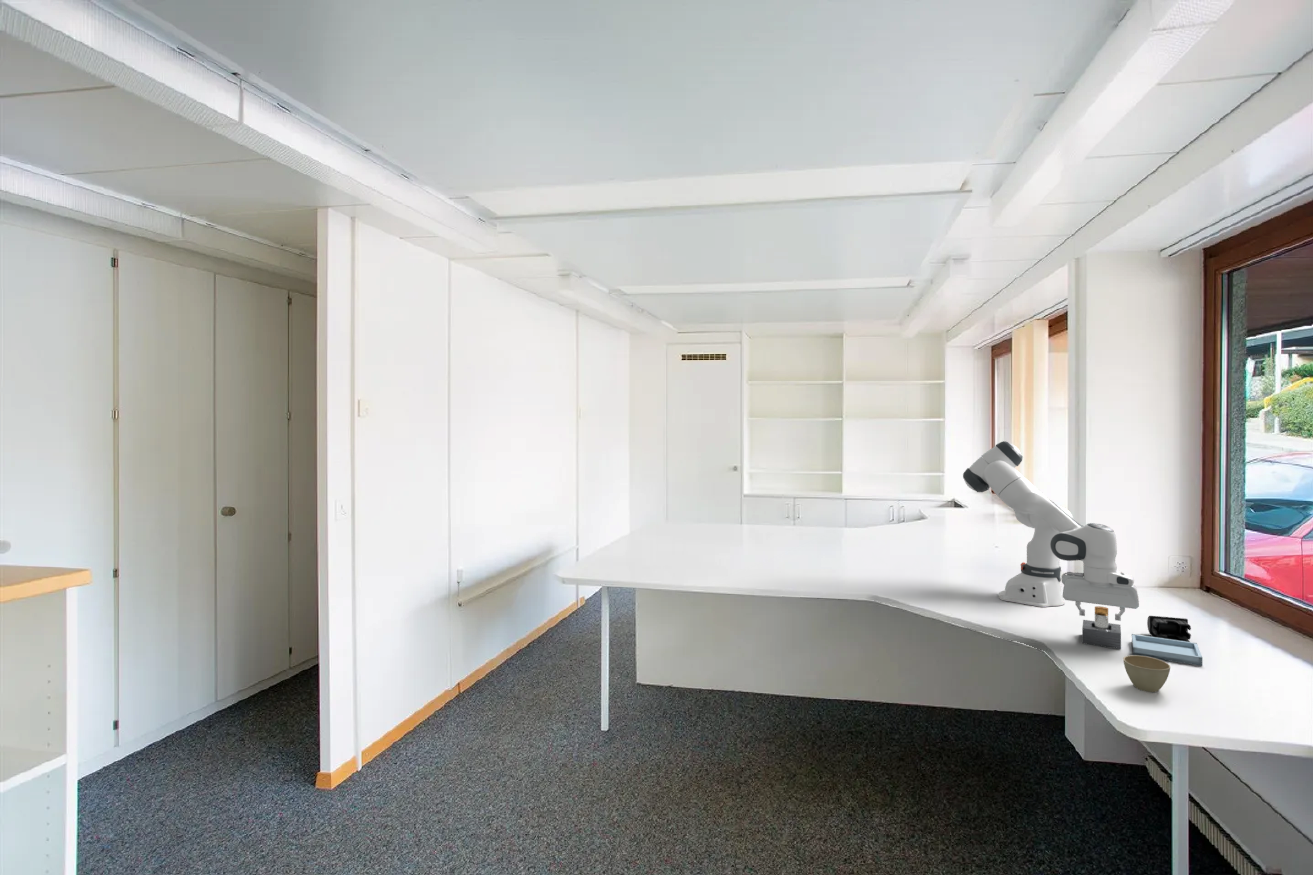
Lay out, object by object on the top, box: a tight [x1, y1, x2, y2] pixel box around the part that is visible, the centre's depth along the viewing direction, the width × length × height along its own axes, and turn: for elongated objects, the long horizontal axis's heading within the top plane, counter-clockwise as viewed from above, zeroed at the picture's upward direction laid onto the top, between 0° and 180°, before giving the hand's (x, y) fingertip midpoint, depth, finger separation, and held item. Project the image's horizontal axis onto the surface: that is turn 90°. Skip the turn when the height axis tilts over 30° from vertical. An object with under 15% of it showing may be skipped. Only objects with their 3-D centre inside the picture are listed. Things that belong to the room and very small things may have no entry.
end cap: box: [1146, 615, 1192, 642], centre depth 208 cm, size 10×7×7 cm
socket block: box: [1081, 619, 1122, 650], centre depth 206 cm, size 10×10×5 cm
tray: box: [1131, 633, 1203, 667], centre depth 196 cm, size 16×14×2 cm
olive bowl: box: [1123, 654, 1171, 693], centre depth 171 cm, size 10×10×7 cm
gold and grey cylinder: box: [1094, 605, 1109, 629], centre depth 206 cm, size 4×4×11 cm
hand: (1099, 617), depth 206 cm, fingers open, 8 cm apart
